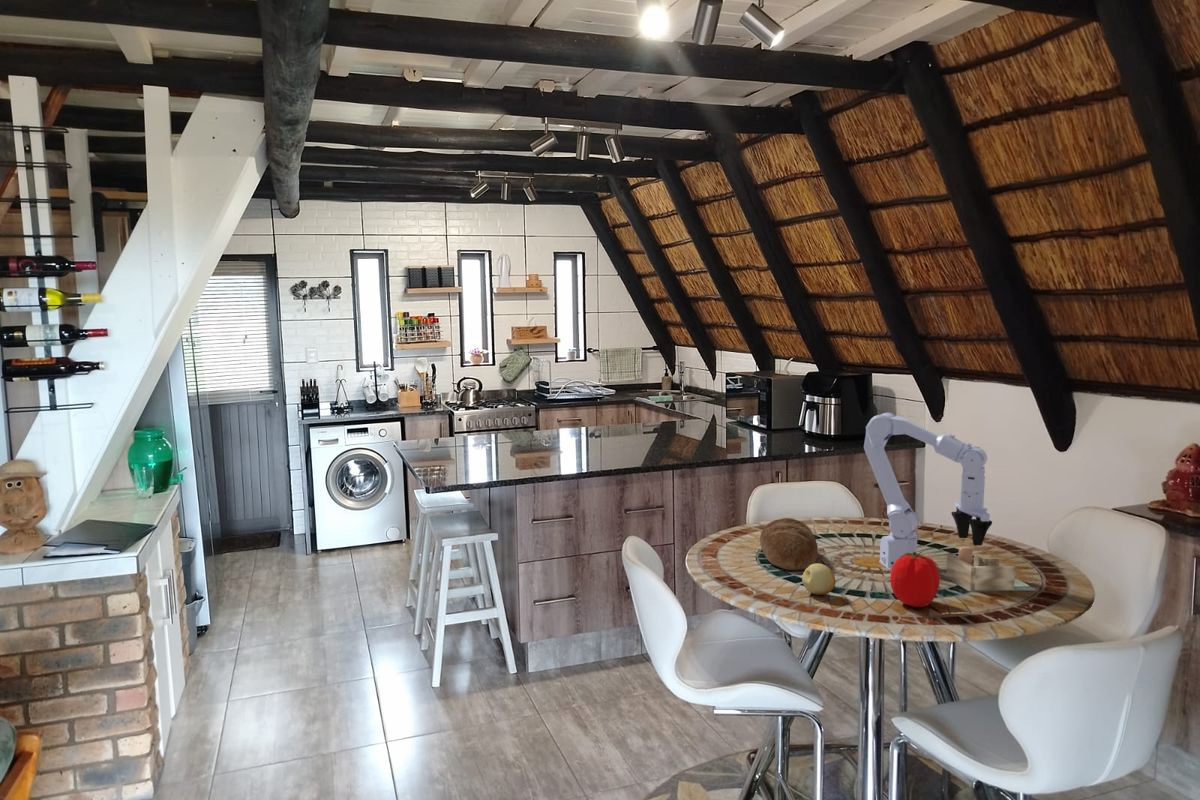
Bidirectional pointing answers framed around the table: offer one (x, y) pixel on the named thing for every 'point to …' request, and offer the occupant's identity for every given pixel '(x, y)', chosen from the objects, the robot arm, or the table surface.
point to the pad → (1020, 584)
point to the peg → (966, 554)
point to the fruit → (818, 579)
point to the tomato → (915, 579)
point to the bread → (789, 544)
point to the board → (995, 590)
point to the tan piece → (981, 573)
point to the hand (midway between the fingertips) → (970, 541)
